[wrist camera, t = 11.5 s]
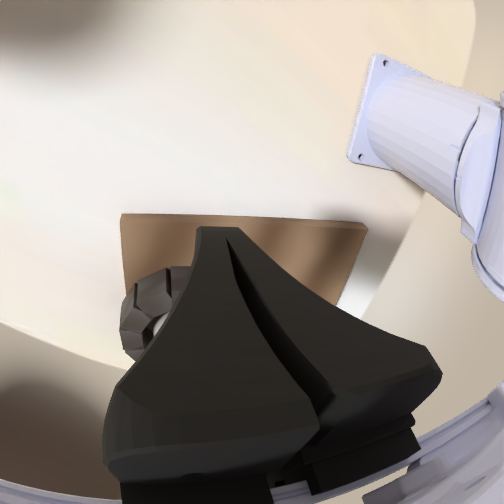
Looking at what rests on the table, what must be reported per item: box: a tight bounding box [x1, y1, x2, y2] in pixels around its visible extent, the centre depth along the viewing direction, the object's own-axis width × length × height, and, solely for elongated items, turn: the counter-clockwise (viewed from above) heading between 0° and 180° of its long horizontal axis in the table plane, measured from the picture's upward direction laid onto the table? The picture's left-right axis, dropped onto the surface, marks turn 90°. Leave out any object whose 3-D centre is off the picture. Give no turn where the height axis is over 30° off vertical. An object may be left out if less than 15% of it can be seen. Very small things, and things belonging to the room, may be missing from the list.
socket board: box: [119, 214, 368, 361], centre depth 24 cm, size 18×14×4 cm
